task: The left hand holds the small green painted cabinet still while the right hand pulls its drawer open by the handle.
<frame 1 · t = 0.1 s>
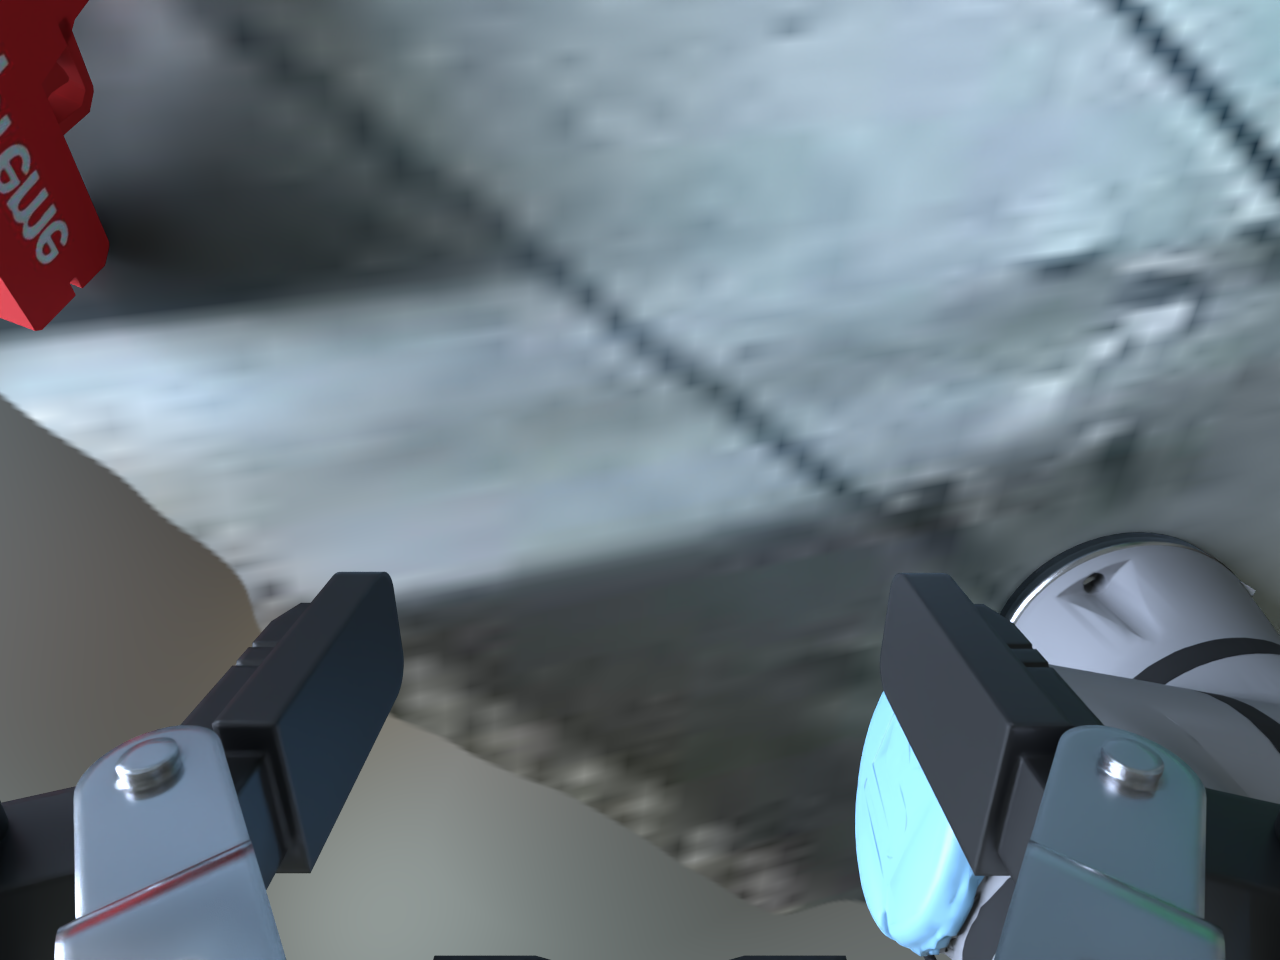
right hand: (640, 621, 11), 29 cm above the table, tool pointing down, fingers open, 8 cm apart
toy gun: (86, 99, 35), on the table
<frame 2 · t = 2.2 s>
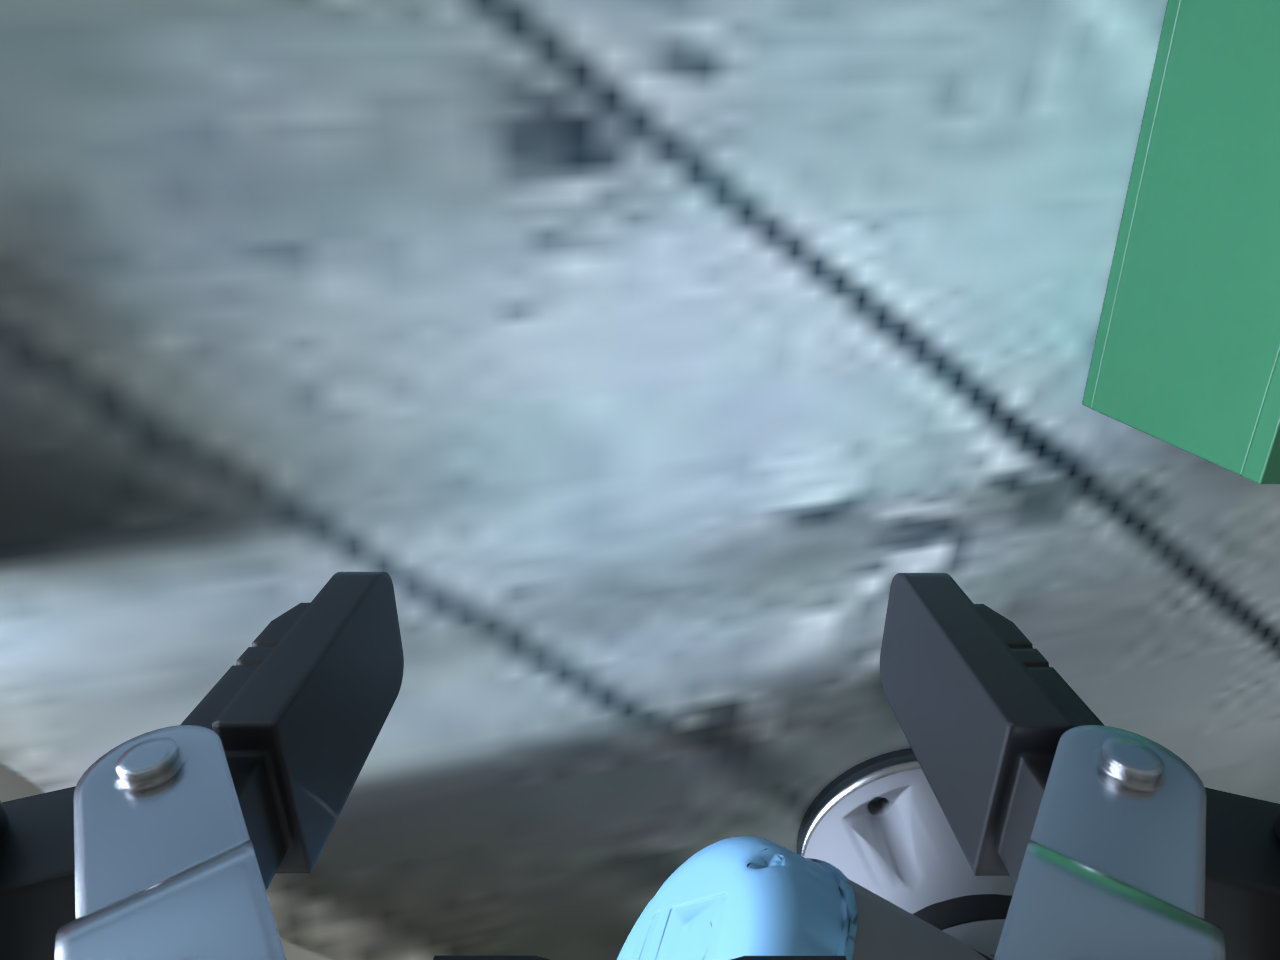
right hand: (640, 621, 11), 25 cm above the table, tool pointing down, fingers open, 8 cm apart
cabinet: (1195, 184, 32), on the table
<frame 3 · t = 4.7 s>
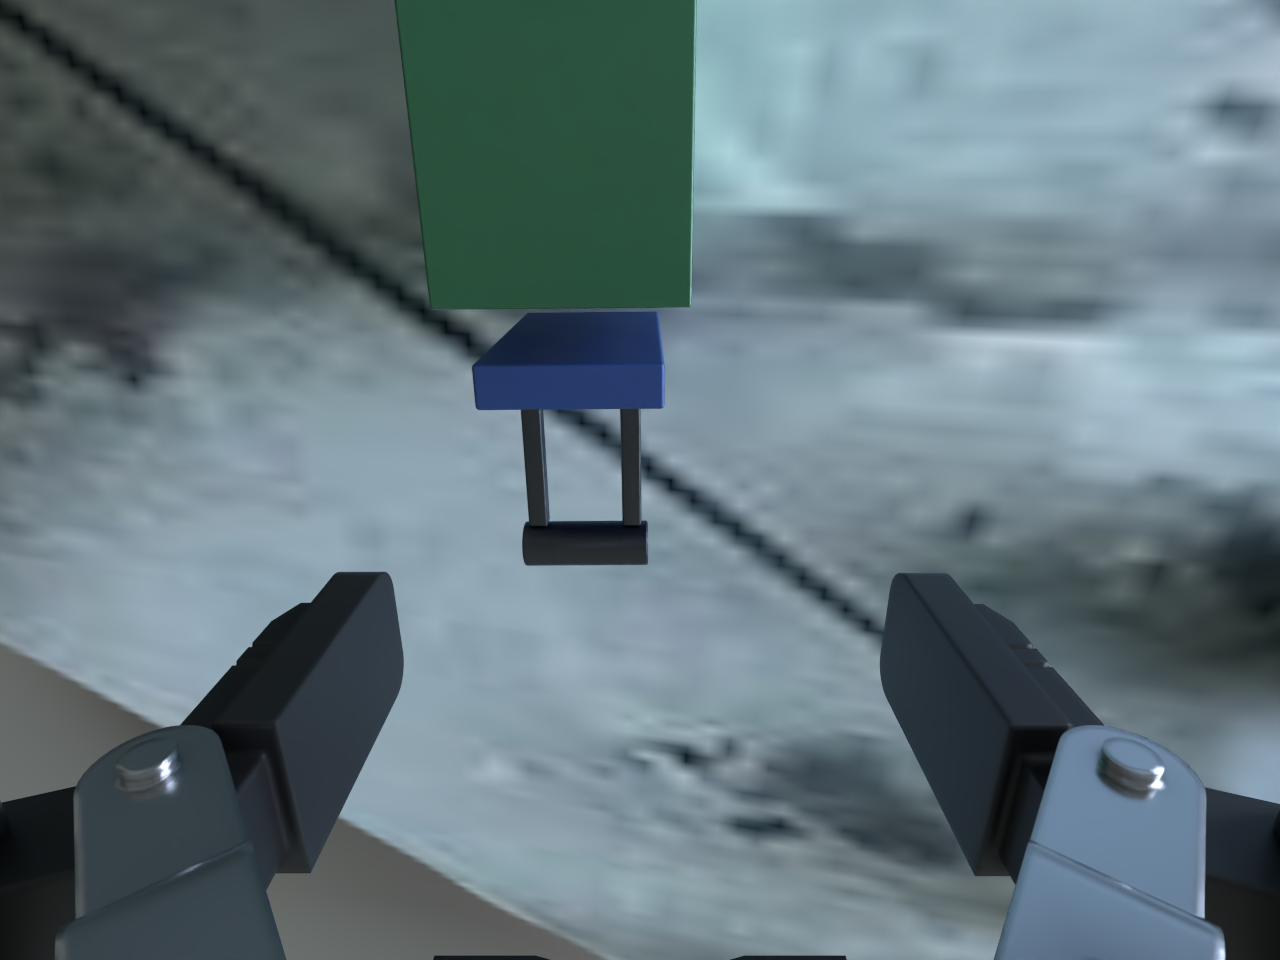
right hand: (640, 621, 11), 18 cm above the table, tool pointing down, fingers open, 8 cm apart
drawer: (574, 143, 20), point 6 cm above the table, slide at 1.5 cm
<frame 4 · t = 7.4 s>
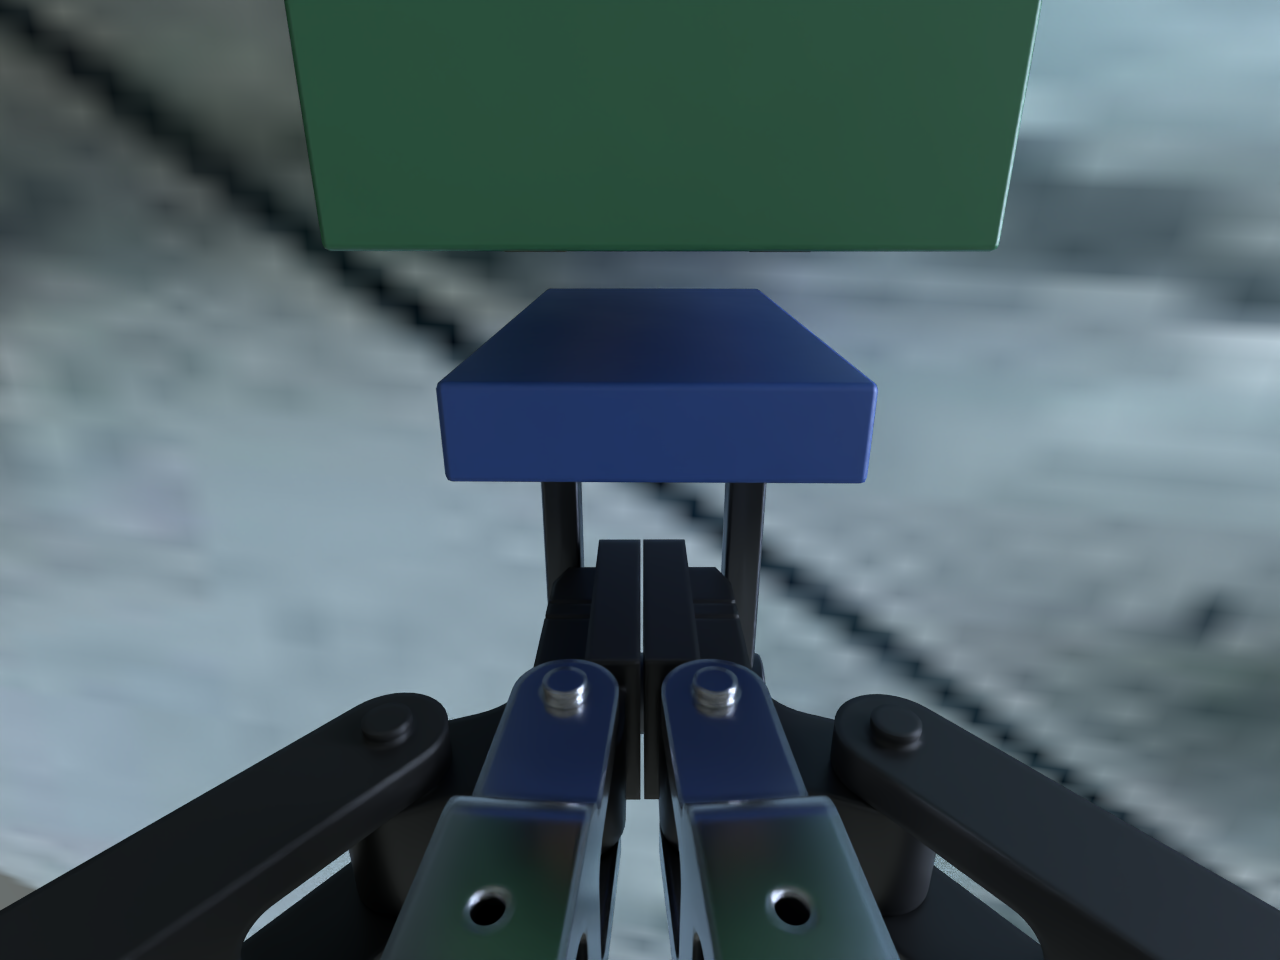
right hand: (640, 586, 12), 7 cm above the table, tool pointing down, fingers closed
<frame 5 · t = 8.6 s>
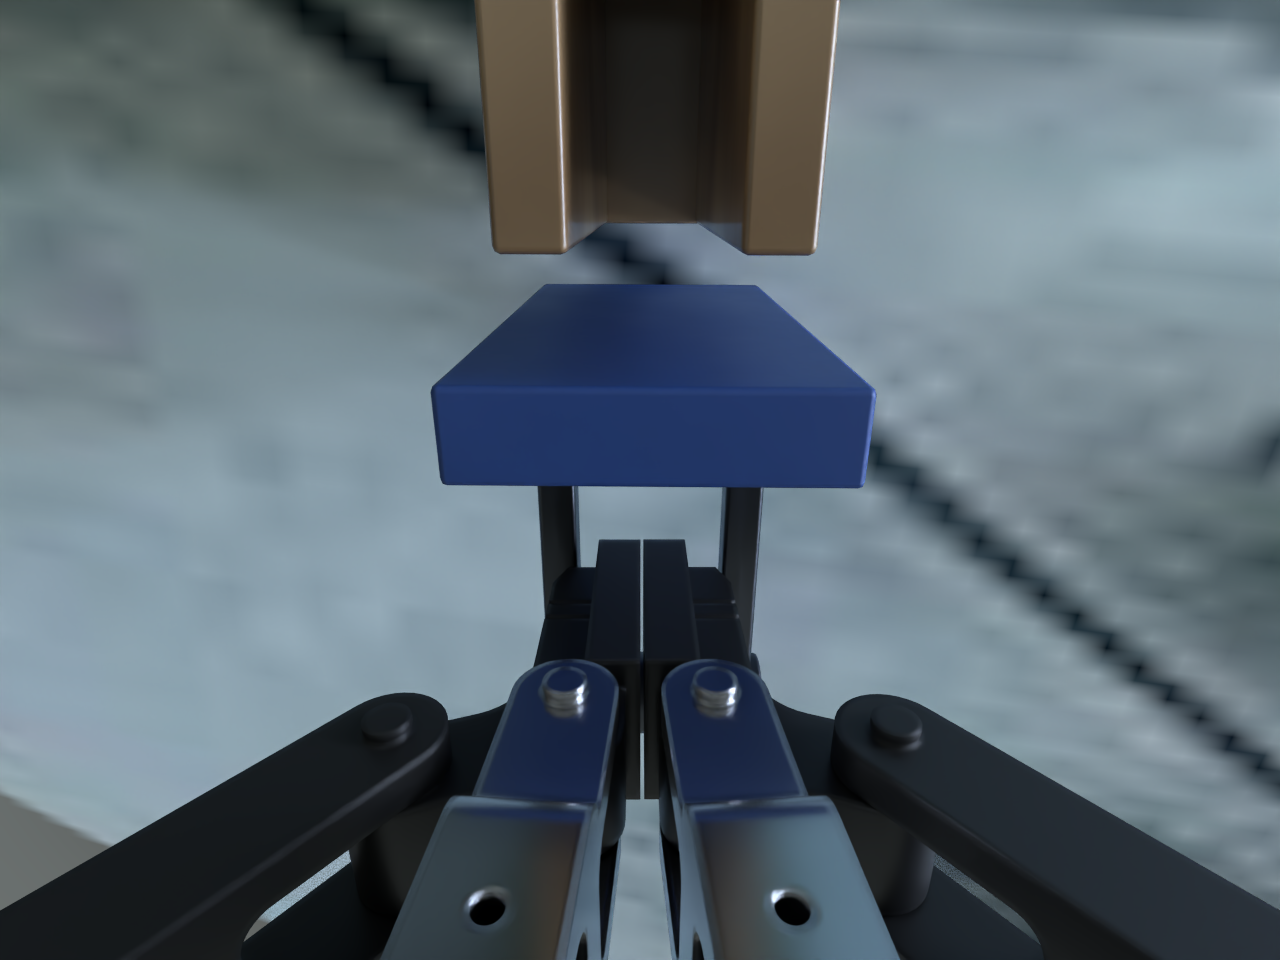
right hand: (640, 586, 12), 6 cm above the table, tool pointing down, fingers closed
when the left hand's fingers open (5 cm above the table, at t = 10.2 s): cabinet stays where it is, on the table.
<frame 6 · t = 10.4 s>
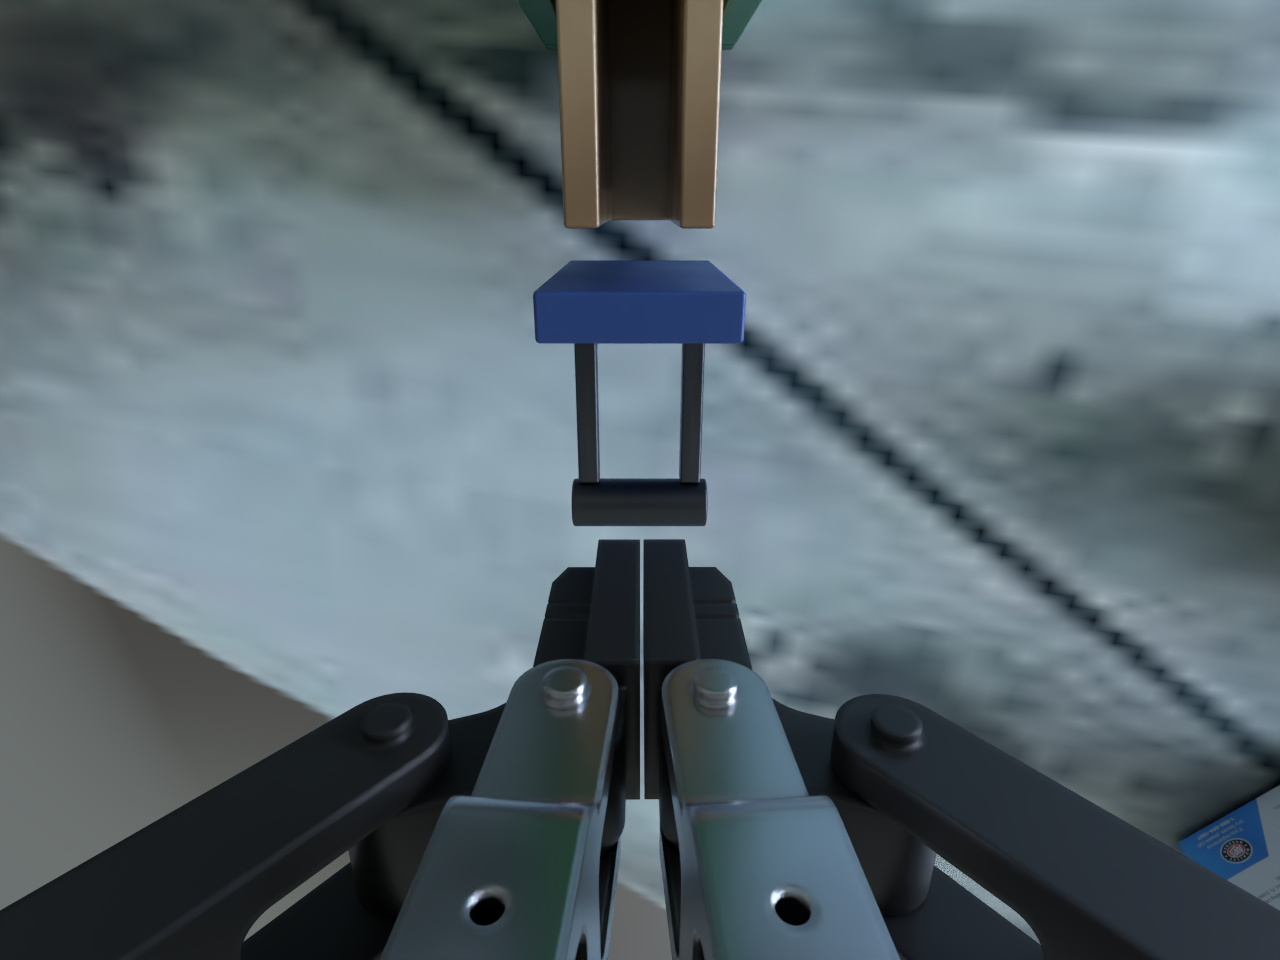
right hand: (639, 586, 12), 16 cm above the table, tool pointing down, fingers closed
ink box: (1270, 819, 35), on the table
drawer: (639, 59, 18), point 5 cm above the table, slide at 6.5 cm
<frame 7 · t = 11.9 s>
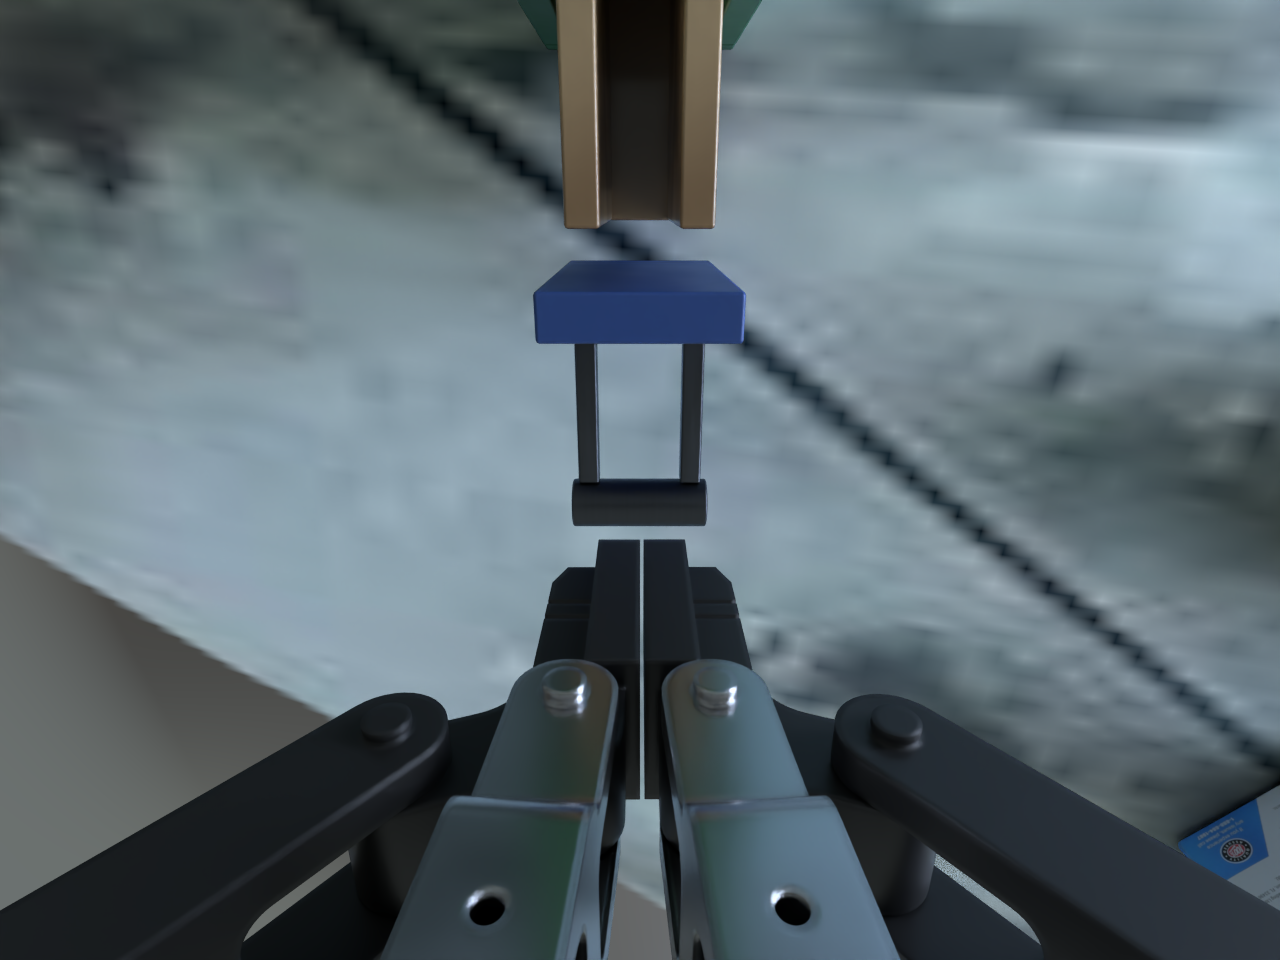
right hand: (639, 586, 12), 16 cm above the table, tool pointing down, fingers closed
ink box: (1270, 819, 35), on the table
drawer: (639, 59, 18), point 5 cm above the table, slide at 6.5 cm
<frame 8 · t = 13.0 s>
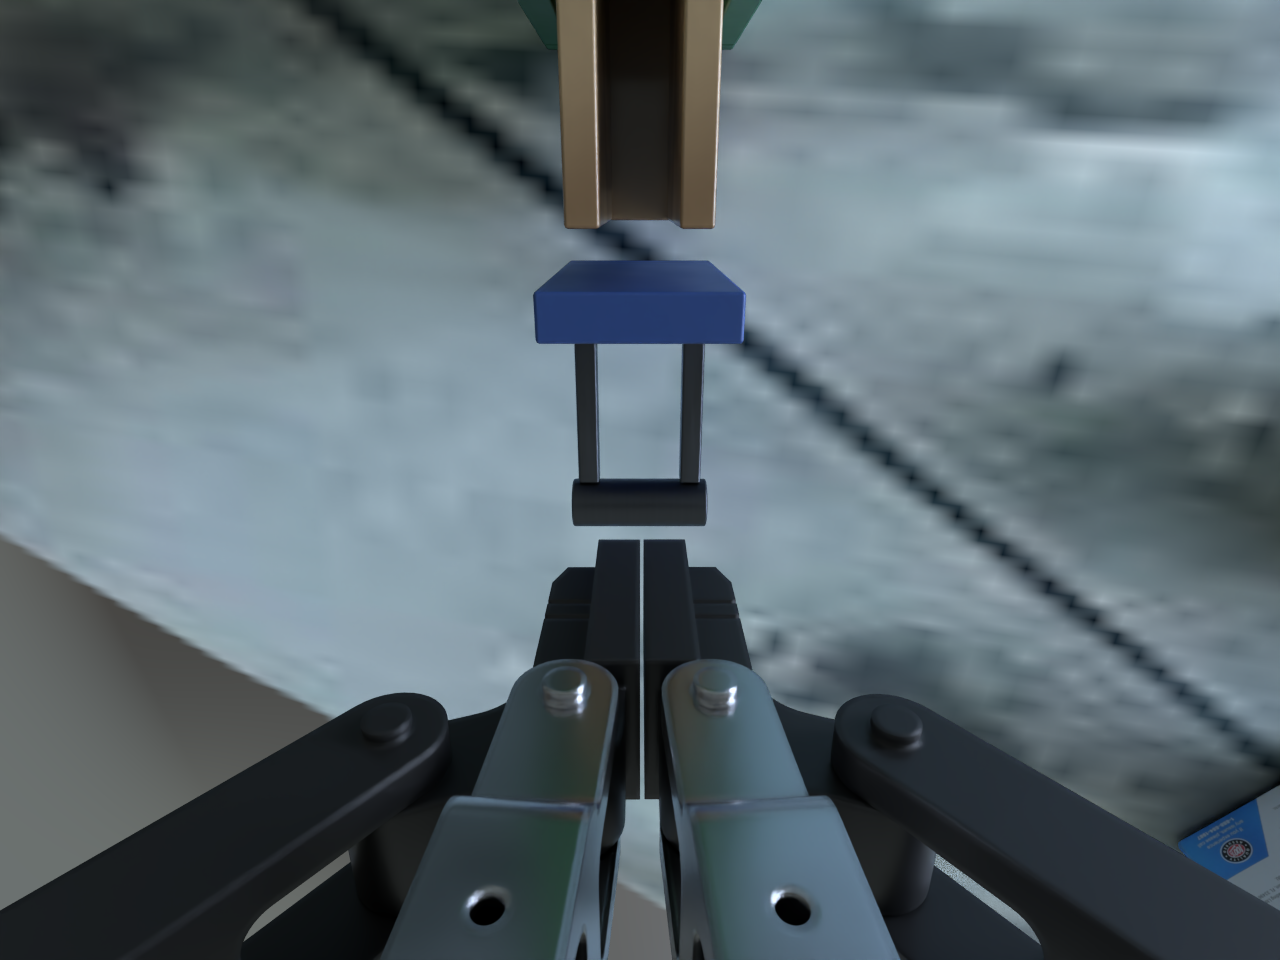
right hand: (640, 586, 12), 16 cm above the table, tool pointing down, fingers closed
ink box: (1270, 819, 35), on the table
drawer: (639, 59, 18), point 5 cm above the table, slide at 6.5 cm
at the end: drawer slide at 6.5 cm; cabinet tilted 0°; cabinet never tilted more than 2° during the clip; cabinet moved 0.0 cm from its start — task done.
